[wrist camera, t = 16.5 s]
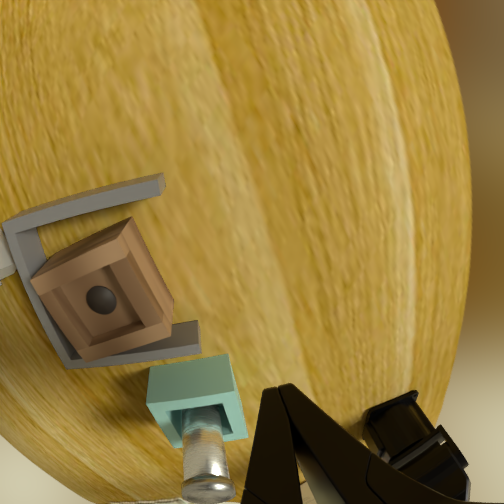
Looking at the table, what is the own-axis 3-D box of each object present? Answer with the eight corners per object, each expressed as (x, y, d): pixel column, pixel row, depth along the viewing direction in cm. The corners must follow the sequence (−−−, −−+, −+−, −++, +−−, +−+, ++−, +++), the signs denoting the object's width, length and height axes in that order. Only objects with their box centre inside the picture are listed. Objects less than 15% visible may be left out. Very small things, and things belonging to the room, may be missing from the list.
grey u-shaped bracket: (163, 172, 16) (157, 179, 14) (200, 329, 20) (201, 353, 18) (21, 211, 15) (1, 223, 13) (75, 347, 19) (66, 369, 17)
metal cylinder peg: (215, 377, 21) (230, 483, 13) (223, 403, 23) (239, 500, 14) (173, 383, 21) (174, 489, 13) (184, 408, 22) (190, 505, 14)
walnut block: (132, 215, 17) (116, 238, 13) (174, 298, 19) (171, 336, 16) (56, 252, 17) (29, 280, 13) (100, 325, 19) (86, 362, 16)
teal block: (227, 351, 22) (234, 390, 18) (241, 401, 24) (248, 437, 21) (150, 364, 21) (145, 403, 18) (173, 411, 24) (174, 448, 20)
